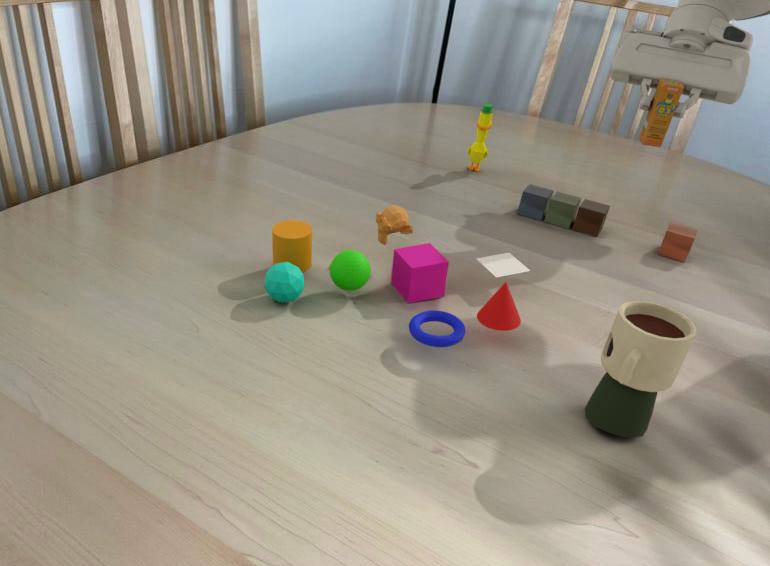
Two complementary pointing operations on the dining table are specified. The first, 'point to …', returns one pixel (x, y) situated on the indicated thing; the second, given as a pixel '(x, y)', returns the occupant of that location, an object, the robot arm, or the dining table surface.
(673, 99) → the supplement box
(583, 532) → the dining table surface
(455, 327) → the shape set
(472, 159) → the toy figure
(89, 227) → the dining table surface
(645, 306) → the character mug
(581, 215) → the block row
